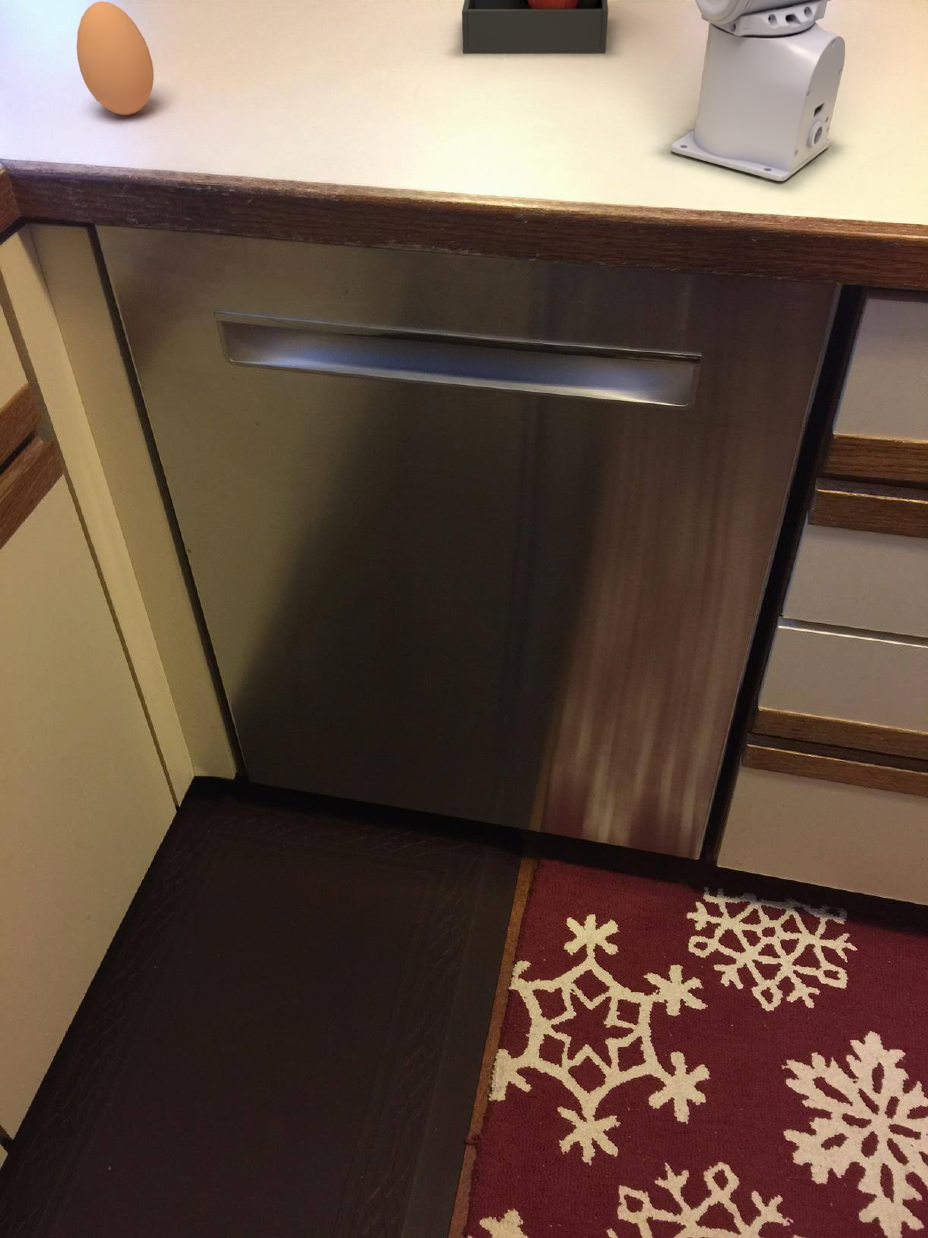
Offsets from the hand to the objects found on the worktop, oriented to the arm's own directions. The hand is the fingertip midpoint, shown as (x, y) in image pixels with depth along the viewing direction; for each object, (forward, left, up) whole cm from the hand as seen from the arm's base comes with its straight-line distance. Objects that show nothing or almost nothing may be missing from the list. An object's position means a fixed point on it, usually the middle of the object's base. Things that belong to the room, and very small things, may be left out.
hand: (556, 7), depth 95 cm
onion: (0, 0, -2) cm, 2 cm away
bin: (+2, +1, -2) cm, 3 cm away
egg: (+19, +35, -3) cm, 40 cm away
